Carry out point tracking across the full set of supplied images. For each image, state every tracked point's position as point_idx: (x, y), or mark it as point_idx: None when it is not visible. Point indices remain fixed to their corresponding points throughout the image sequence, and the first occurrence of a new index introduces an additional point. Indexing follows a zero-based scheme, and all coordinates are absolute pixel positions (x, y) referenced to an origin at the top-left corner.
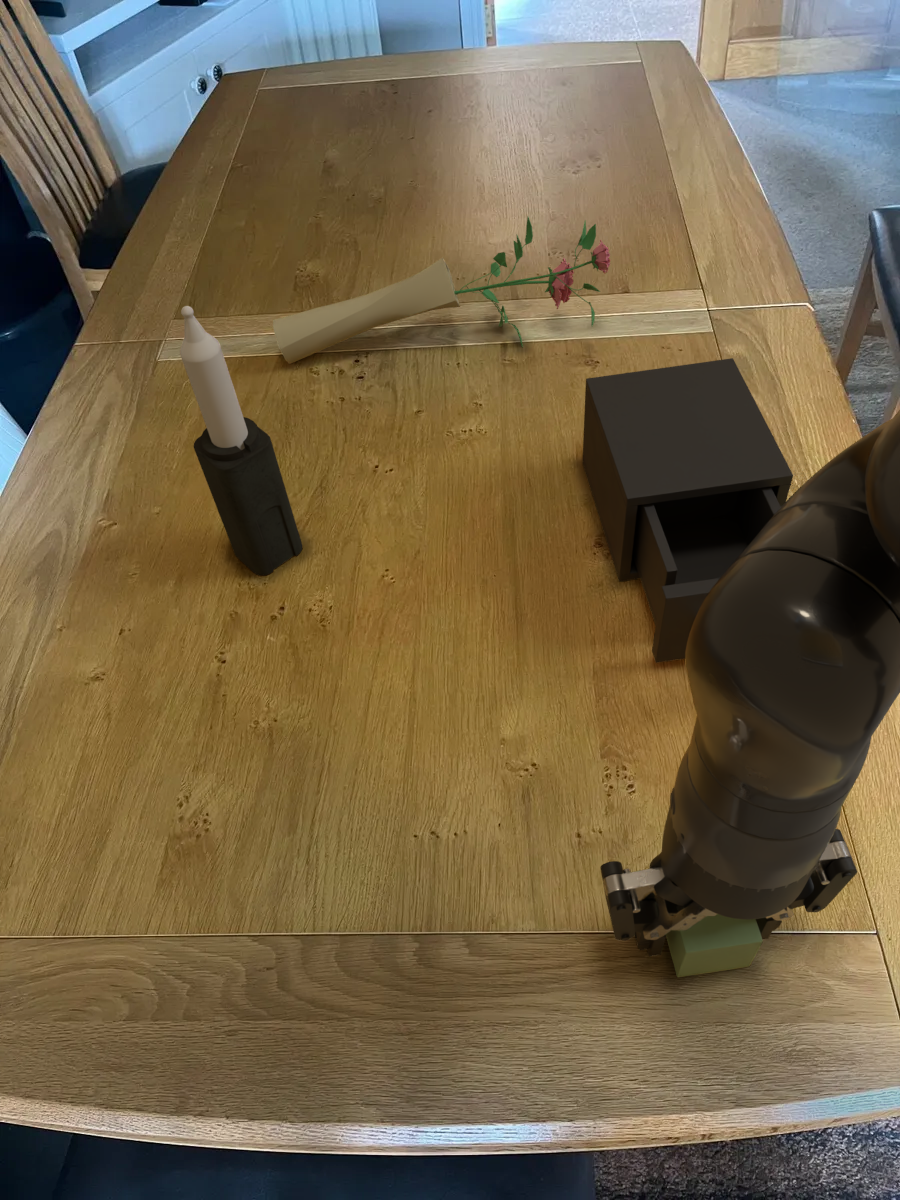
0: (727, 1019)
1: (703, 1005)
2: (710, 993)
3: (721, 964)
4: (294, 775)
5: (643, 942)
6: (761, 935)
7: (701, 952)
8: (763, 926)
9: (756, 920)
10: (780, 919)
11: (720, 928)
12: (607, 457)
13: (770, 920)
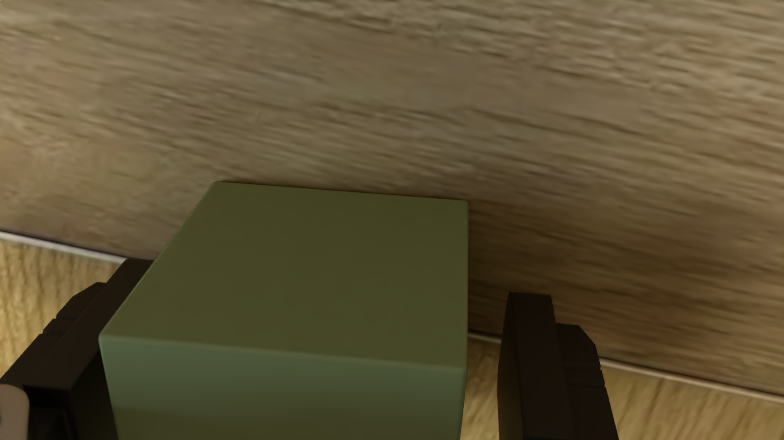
0: (338, 32)
1: (409, 95)
2: (371, 128)
3: (307, 225)
4: None
5: (586, 378)
6: None
7: (389, 345)
8: None
9: None
10: (6, 393)
11: (274, 421)
12: None
13: (56, 389)
